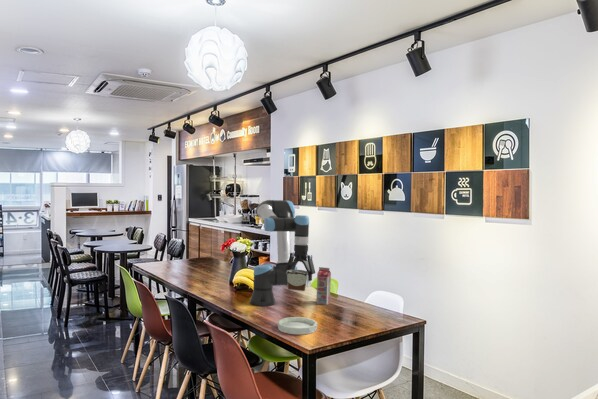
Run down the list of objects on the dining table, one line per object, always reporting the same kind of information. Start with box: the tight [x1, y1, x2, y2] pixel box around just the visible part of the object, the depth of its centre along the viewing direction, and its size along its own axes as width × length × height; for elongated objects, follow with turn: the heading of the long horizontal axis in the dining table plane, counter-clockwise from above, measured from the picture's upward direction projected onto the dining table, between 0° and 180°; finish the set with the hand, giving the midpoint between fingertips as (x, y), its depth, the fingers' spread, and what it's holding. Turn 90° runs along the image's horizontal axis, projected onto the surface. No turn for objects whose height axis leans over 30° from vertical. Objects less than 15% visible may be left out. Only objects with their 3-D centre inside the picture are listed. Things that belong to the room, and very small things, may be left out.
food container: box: [286, 269, 308, 292], centre depth 231 cm, size 12×6×10 cm, turn 72°
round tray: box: [277, 316, 318, 336], centre depth 213 cm, size 19×19×3 cm
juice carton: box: [315, 266, 332, 306], centre depth 266 cm, size 7×7×22 cm
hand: (299, 285), depth 230 cm, fingers closed on food container, 11 cm apart
